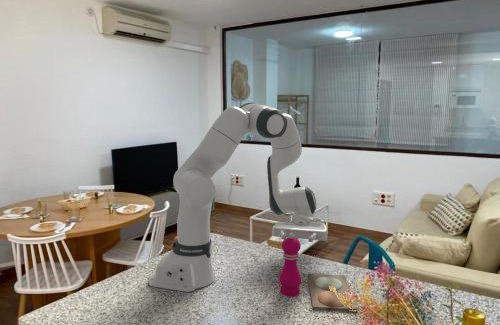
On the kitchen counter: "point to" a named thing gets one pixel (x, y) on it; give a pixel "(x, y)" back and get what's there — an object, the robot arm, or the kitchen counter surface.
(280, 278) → the pepper mill
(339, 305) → the colour board
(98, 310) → the kitchen counter surface
